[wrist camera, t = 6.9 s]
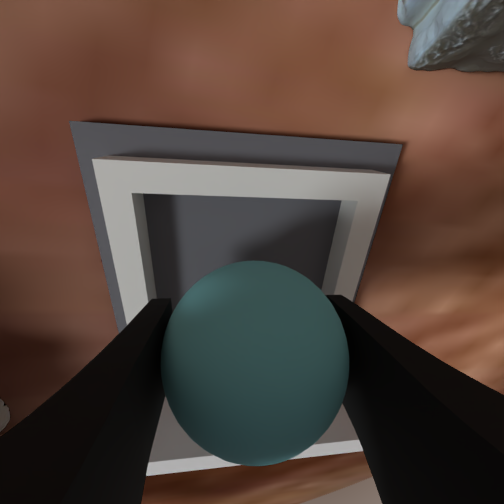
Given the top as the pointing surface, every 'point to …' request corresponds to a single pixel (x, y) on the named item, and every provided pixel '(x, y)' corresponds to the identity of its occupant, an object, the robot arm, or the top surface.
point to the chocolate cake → (455, 34)
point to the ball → (254, 363)
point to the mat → (227, 206)
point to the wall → (196, 458)
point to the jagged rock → (4, 415)
